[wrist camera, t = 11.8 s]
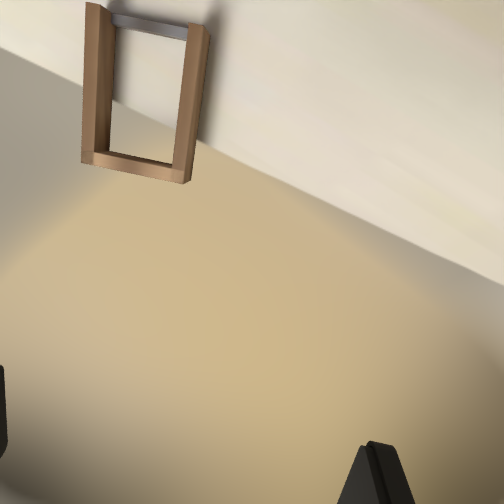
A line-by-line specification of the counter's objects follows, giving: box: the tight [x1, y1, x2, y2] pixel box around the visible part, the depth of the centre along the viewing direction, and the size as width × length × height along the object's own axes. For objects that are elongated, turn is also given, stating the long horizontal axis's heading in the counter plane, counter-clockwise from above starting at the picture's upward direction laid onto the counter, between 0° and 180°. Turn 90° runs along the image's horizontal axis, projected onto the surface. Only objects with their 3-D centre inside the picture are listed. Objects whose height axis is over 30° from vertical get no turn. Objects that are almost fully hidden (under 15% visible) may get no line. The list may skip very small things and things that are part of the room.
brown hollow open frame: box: [81, 2, 210, 184], centre depth 32 cm, size 10×13×3 cm
